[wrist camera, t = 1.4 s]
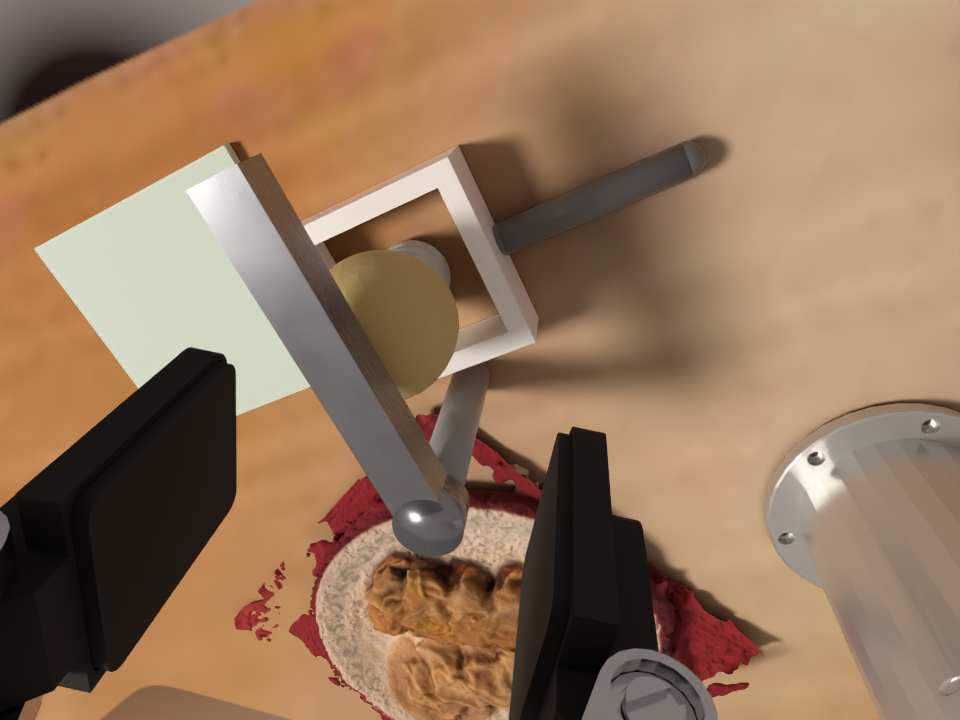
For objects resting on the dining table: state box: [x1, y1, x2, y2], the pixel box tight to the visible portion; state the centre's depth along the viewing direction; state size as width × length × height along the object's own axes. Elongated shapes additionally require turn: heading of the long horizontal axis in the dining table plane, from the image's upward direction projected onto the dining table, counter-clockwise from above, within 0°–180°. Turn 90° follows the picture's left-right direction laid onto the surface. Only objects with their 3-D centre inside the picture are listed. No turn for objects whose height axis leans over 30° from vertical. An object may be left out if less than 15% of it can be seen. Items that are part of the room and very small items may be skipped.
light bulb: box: [329, 240, 459, 399], centre depth 30 cm, size 6×6×10 cm
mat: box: [34, 143, 310, 416], centre depth 37 cm, size 13×13×1 cm
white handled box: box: [301, 141, 706, 485], centre depth 29 cm, size 20×12×10 cm, turn 115°
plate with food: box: [234, 414, 764, 720], centre depth 45 cm, size 25×26×4 cm
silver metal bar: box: [186, 153, 470, 557], centre depth 24 cm, size 3×16×2 cm, turn 25°
